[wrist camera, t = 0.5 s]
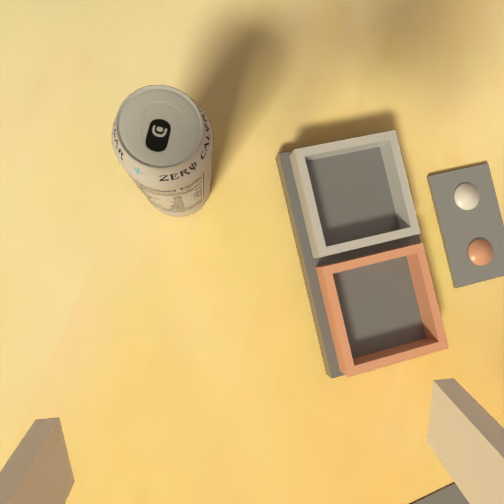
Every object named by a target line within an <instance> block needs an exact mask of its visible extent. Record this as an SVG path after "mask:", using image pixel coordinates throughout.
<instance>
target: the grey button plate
mask: <svg viewBox="0 0 504 504" xmlns="http://www.w3.org/2000/svg"><path fill="white" fill-rule="evenodd" d="M427 179H428V183H429V187H430V191H431V195H432V199H433V203H434V207H435V212H436V216H437V220H438V224H439V228H440V232H441V236H442V240H443V244H444V248H445V252H446V256H447V260H448V264H449V268H450V273H451V277H452V281H453V285H454V288H458V287H462V286H466V285H470V284H474V283H477V282H481V281H485V280H489V279H493V278H496V277H500V276H504V225H503V221H502V217H501V213H500V209H499V205H498V201H497V197H496V193H495V189H494V185H493V181H492V177H491V173H490V169H489V165H488V163H487V164H482V165H477V166H473V167H468V168H463V169H459V170H454V171H449V172H445V173H440V174H435V175H431V176H428V177H427Z"/></svg>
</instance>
